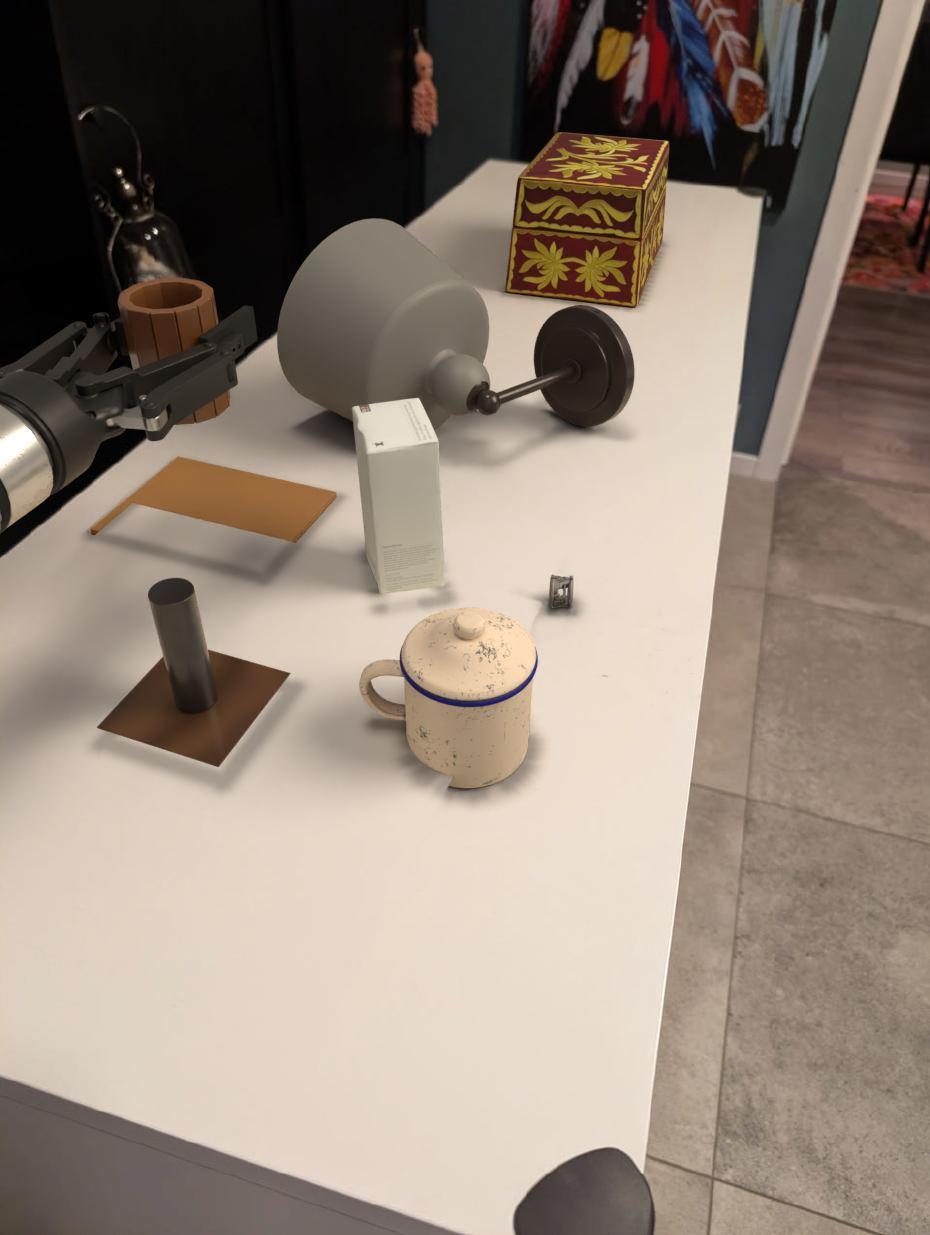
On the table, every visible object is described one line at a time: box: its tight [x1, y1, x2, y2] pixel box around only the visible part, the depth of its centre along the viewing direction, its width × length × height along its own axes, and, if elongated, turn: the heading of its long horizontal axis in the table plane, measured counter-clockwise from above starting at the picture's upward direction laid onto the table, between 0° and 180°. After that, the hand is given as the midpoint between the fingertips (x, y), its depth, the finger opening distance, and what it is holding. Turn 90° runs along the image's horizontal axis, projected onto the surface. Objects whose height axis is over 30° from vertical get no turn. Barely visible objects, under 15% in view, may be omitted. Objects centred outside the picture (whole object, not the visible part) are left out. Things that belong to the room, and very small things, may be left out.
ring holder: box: [96, 577, 291, 768], centre depth 67 cm, size 10×10×12 cm
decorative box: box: [505, 131, 670, 308], centre depth 137 cm, size 28×19×15 cm
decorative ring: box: [548, 574, 574, 610], centre depth 80 cm, size 3×2×3 cm
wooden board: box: [89, 456, 337, 543], centre depth 90 cm, size 18×14×1 cm
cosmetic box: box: [352, 398, 446, 595], centre depth 79 cm, size 8×6×15 cm
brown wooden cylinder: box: [117, 277, 231, 426], centre depth 74 cm, size 7×7×9 cm
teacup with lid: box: [358, 606, 539, 789], centre depth 65 cm, size 12×9×12 cm
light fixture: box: [276, 217, 636, 430], centre depth 98 cm, size 20×25×27 cm
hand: (210, 315), depth 77 cm, fingers closed on brown wooden cylinder, 7 cm apart
